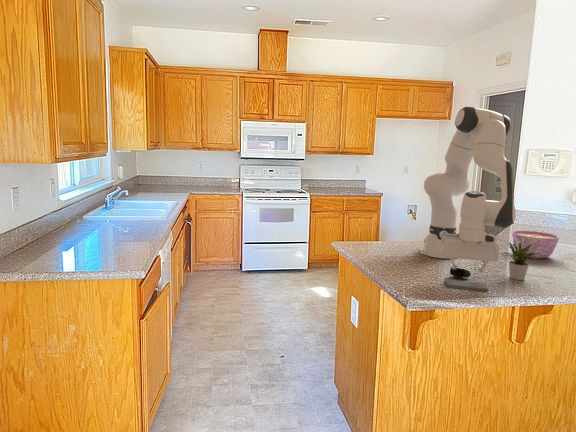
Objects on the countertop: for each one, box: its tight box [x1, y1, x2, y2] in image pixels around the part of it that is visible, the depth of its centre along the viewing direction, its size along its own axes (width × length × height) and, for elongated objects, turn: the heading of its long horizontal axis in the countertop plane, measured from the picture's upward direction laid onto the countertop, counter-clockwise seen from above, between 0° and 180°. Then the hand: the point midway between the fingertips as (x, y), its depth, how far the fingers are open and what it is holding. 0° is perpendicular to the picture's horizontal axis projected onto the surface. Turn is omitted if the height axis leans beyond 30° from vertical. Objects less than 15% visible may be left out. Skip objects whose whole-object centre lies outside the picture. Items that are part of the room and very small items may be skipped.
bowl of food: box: [511, 230, 560, 259], centre depth 208 cm, size 20×20×12 cm
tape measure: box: [449, 266, 472, 279], centre depth 168 cm, size 7×7×4 cm
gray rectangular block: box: [444, 278, 489, 292], centre depth 158 cm, size 8×14×1 cm, turn 75°
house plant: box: [499, 239, 537, 281], centre depth 170 cm, size 14×14×16 cm
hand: (467, 270), depth 163 cm, fingers open, 8 cm apart
